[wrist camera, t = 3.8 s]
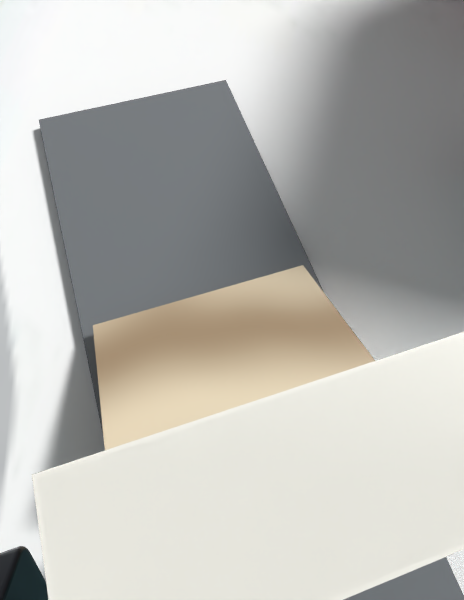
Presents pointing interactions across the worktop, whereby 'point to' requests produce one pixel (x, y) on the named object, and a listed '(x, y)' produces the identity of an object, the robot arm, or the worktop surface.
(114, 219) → the mat
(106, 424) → the ramp
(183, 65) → the worktop surface
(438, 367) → the card deck
